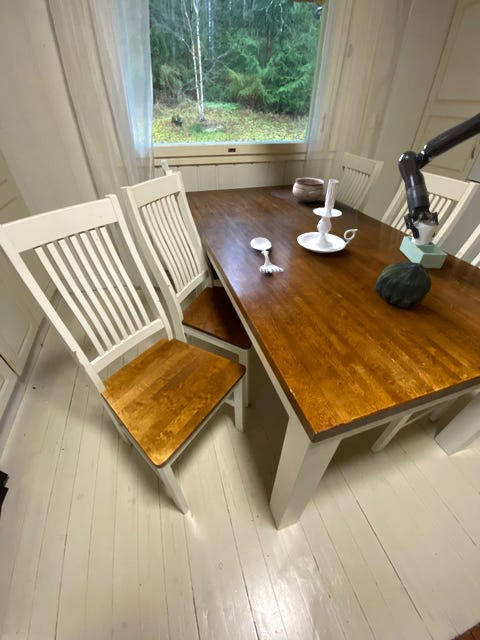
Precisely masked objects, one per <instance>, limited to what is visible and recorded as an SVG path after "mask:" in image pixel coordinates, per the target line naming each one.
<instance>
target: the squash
mask: <svg viewBox="0 0 480 640" xmlns="http://www.w3.org/2000/svg"><path fill="white" fill-rule="evenodd" d="M431 288H432V278H431V276H430V274H429V272H428V270H427V268H424V266H423V265H421V264H420V263H415V262H411V261H407V262H396V263H395V262H394V263H392V264H389V265H387V266H385V268H384V269H382V270H381V272H380V273H379V274H378V277H377V280H376V283H375V292H376V294H377V296H379V297H381V298H382V299H383V300H384V301H386V302H388V301H389V302H390V304H394V305H396V306H397V307H398V308H402V309H404V308H408V307H410V308H411V307H415V306H417V305H419V304H421V303H422V302H423V300H424V299H426V296H427V295H429V293H430V291H431Z"/></svg>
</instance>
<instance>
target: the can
mask: <svg viewBox="0 0 480 640" xmlns="http://www.w3.org/2000/svg"><path fill="white" fill-rule="evenodd" d="M436 225H437V223H435V222H433V221H429V220H423V221H421V223H419V225H418V230H419V235H420V237H419V238H417V239H414V238H412V240H411V241H412V242H413V243H414V244H419V245H428V244H429V242H430V241H431V240H432V236H433V234H434V232H435V233H436V230H437V226H436Z"/></svg>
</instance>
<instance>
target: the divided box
mask: <svg viewBox="0 0 480 640" xmlns="http://www.w3.org/2000/svg"><path fill="white" fill-rule="evenodd" d="M412 238H413V236H407V235H406V236H405V235H404V236H403V239H402V242H401V244H400V246H399V250H400V252H401V253H403V255H404V256H406V258H407V259H408V260H409V262H415V263H420V264H421V265H423V266H424V268H425V269H441V268H442V266H443V264H444V263H445V261H446V259H447V257H448V253H446V252H445V251H444V250H443V249H441V248H440V247H439V246H437V245H436V244H435V243H434V242H433V241H431V240H430V242H429V244H428V245H419V244H414V243H413V242H412V241H411V240H412Z"/></svg>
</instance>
